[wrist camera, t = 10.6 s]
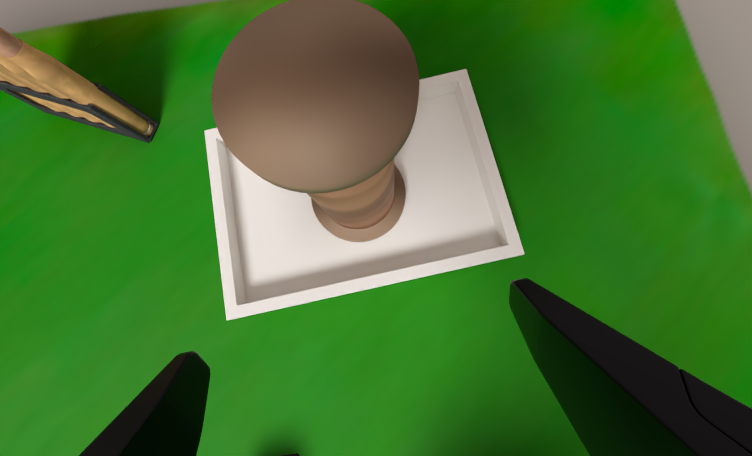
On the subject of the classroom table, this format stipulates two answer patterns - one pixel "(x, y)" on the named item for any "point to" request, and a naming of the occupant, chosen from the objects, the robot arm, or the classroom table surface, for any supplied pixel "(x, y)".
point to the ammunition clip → (66, 91)
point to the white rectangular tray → (379, 256)
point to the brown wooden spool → (322, 109)
